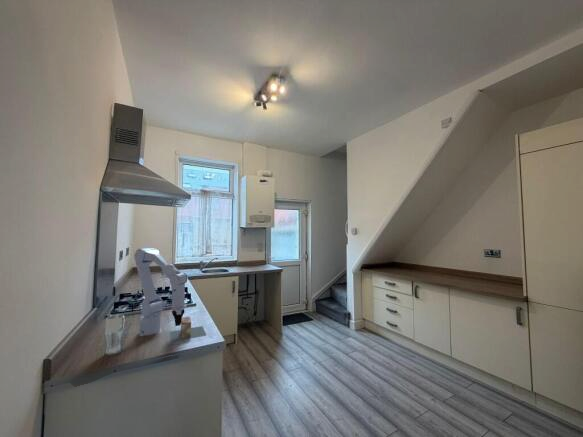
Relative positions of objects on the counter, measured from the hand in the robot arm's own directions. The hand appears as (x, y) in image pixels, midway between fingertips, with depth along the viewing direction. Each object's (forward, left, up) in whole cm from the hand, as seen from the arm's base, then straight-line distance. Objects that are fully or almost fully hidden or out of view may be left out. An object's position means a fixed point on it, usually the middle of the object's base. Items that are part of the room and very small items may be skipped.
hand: (177, 325), depth 122 cm
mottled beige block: (+4, 0, -5) cm, 6 cm away
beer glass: (-25, -4, -6) cm, 26 cm away
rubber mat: (+5, 0, -5) cm, 7 cm away
